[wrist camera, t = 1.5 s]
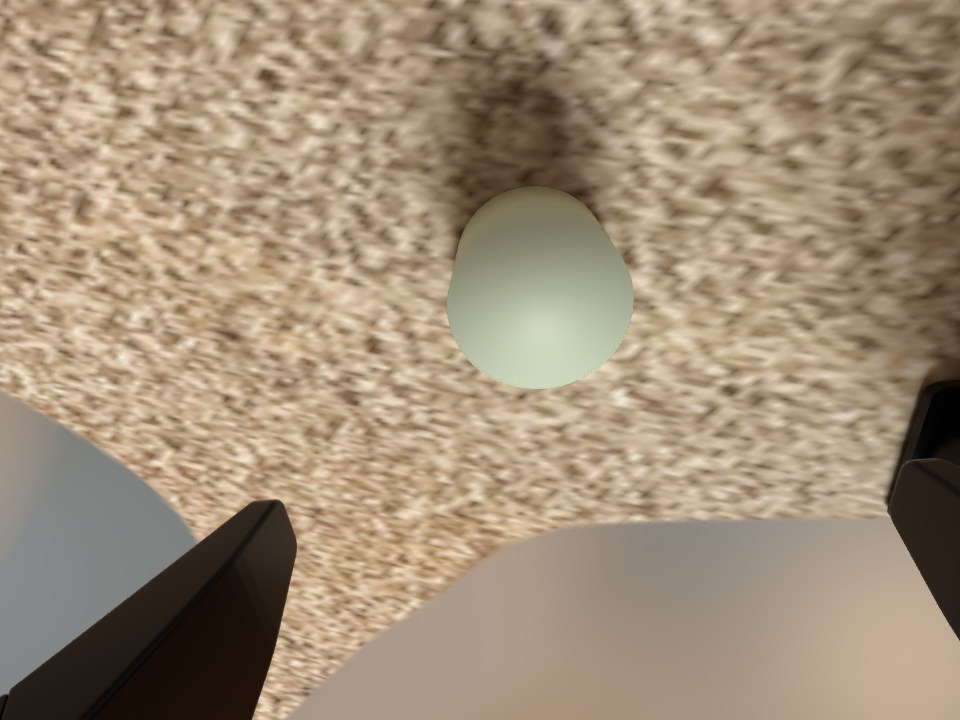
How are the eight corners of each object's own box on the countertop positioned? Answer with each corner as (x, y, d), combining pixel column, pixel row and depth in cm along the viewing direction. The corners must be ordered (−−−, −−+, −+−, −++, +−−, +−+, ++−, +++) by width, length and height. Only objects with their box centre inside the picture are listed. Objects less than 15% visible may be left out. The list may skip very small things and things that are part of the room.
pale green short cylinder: (607, 324, 19) (632, 381, 16) (466, 336, 20) (459, 395, 16) (607, 177, 17) (635, 205, 13) (447, 194, 17) (433, 226, 14)
